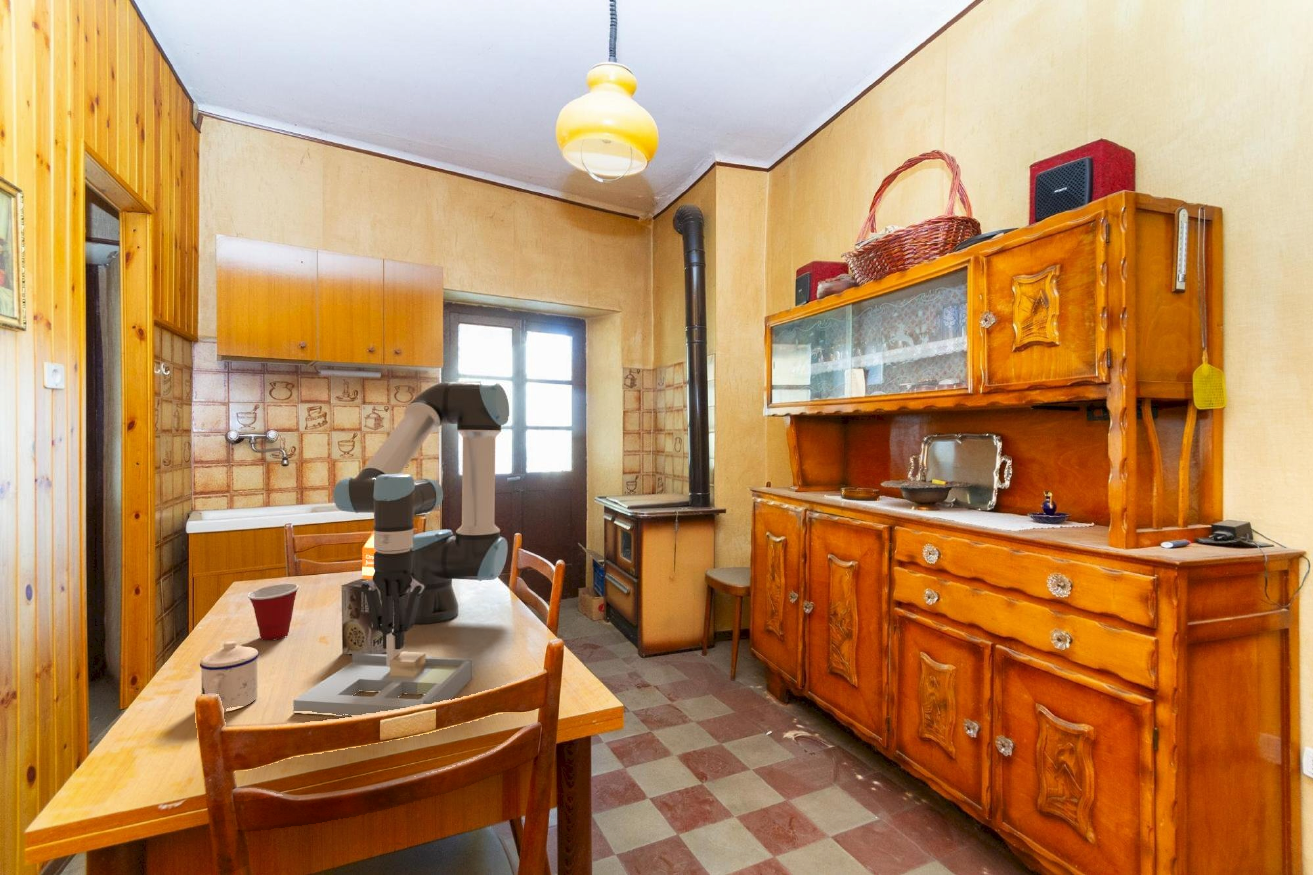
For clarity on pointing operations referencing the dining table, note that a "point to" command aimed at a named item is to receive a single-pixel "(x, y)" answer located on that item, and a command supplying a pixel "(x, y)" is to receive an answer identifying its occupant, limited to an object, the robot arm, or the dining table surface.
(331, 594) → the dining table surface
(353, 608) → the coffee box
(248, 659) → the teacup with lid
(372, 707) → the grey compartment tray
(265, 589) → the plastic cup
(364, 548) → the orange juice
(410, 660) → the block
